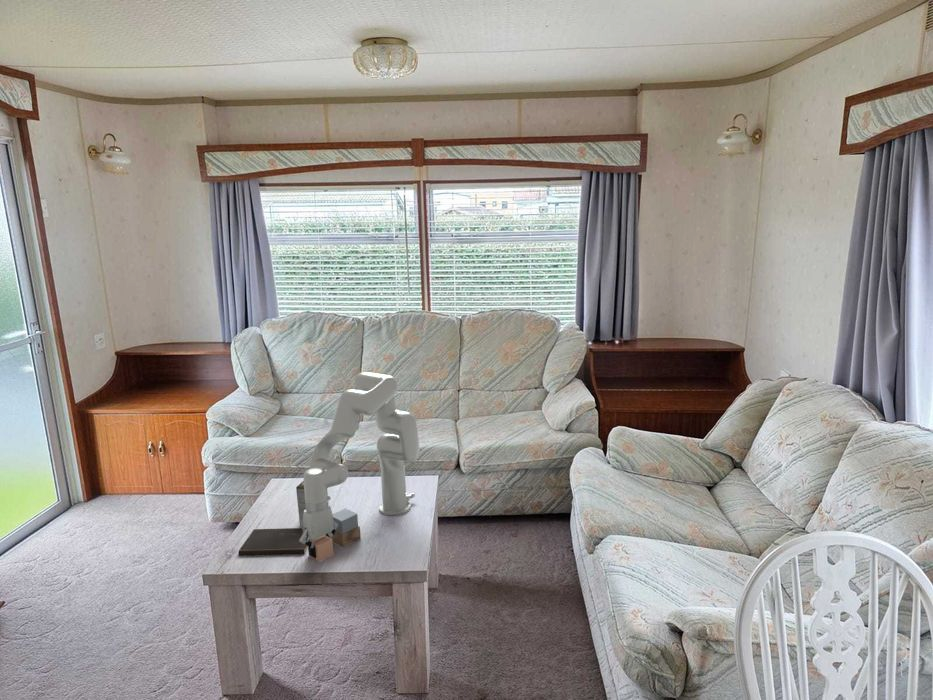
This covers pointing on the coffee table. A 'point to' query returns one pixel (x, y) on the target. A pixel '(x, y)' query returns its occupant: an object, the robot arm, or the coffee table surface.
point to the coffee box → (301, 501)
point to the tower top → (345, 520)
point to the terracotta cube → (323, 548)
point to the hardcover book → (274, 542)
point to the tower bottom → (346, 537)
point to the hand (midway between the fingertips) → (320, 552)
